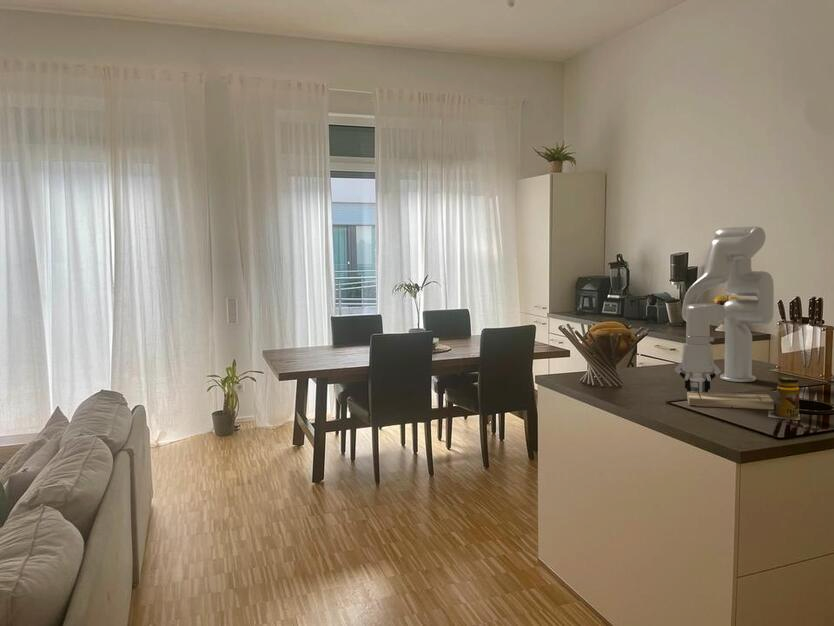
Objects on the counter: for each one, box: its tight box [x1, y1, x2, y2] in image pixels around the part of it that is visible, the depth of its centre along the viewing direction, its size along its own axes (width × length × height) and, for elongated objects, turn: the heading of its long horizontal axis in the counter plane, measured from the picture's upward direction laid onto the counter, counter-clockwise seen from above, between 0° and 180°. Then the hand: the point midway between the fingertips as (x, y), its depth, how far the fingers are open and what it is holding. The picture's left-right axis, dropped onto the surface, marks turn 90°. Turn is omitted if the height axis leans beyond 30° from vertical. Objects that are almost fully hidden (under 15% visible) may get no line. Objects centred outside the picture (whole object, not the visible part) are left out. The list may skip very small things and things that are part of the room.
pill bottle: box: [689, 372, 706, 392], centre depth 222 cm, size 5×5×9 cm
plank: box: [686, 391, 775, 411], centre depth 211 cm, size 10×25×3 cm, turn 70°
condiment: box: [767, 376, 801, 421], centre depth 194 cm, size 7×8×12 cm
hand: (697, 390), depth 223 cm, fingers closed on pill bottle, 5 cm apart
